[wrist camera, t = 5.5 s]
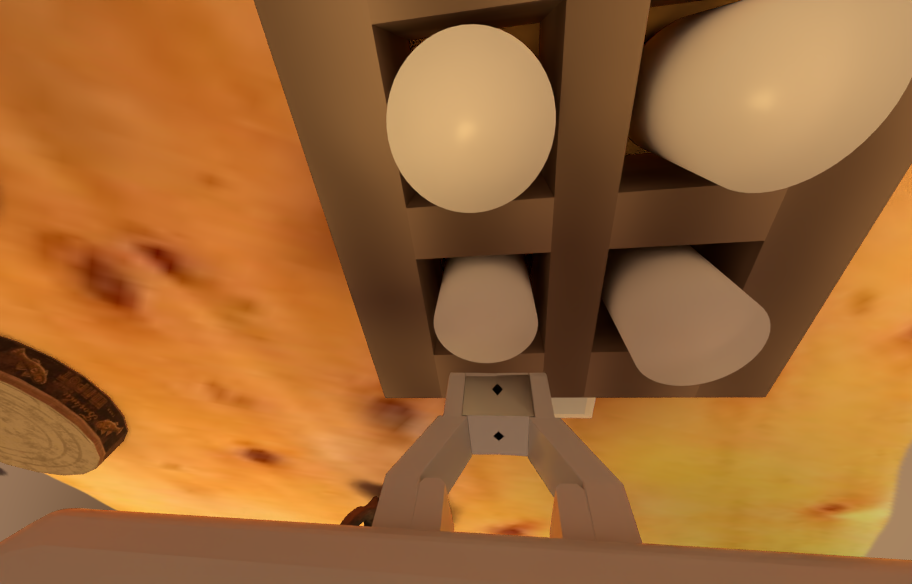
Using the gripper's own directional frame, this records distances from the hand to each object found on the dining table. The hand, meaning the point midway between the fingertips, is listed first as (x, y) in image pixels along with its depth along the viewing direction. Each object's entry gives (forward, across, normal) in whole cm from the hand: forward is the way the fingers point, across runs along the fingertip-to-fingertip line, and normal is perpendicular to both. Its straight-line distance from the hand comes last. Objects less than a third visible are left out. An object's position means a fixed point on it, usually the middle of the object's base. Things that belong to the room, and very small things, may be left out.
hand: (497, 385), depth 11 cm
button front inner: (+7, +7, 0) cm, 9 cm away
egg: (+8, 0, 0) cm, 8 cm away
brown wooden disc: (+9, -41, -11) cm, 43 cm away
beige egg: (+6, 0, +7) cm, 10 cm away
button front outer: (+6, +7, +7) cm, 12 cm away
